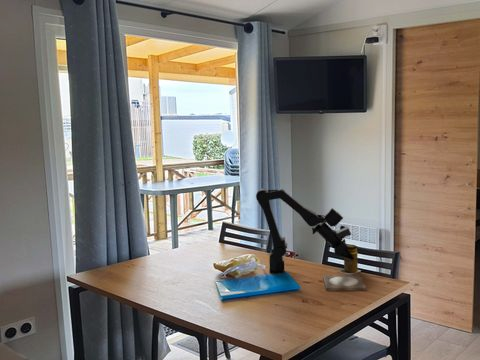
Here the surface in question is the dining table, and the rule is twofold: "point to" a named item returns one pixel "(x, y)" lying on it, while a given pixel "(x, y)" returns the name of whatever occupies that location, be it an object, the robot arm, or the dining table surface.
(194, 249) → the dining table surface
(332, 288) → the grey flat square slab
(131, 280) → the dining table surface
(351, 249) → the condiment
